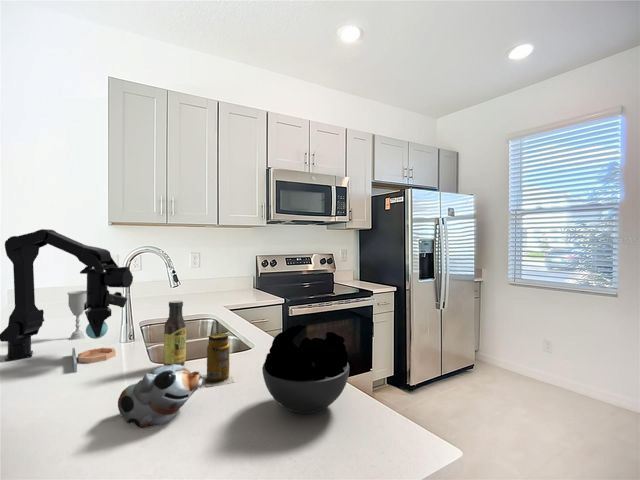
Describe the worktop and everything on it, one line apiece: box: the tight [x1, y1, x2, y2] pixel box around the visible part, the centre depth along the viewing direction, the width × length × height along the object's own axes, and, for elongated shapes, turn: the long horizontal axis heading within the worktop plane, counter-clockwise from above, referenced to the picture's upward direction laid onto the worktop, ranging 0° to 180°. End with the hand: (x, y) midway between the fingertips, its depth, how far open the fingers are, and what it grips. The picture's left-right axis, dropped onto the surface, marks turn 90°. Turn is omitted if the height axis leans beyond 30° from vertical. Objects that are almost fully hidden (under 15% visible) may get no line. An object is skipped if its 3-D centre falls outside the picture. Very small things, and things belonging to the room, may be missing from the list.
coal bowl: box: [262, 324, 350, 414], centre depth 76 cm, size 20×20×19 cm
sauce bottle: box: [162, 300, 187, 367], centre depth 101 cm, size 7×6×20 cm
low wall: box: [71, 347, 78, 373], centre depth 103 cm, size 18×1×2 cm, turn 38°
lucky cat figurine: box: [117, 364, 204, 429], centre depth 73 cm, size 15×12×14 cm
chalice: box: [66, 290, 87, 340], centre depth 130 cm, size 7×7×18 cm
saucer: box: [77, 347, 116, 364], centre depth 109 cm, size 10×10×2 cm
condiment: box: [202, 332, 235, 387], centre depth 92 cm, size 7×8×12 cm
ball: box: [85, 321, 109, 340], centre depth 109 cm, size 6×6×6 cm
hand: (96, 334), depth 109 cm, fingers closed on ball, 6 cm apart
